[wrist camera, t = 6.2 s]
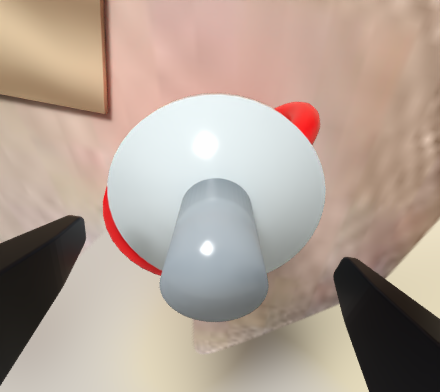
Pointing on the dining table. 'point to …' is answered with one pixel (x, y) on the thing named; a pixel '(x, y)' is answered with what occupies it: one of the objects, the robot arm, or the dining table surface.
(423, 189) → the dining table surface
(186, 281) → the lid
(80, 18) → the mat
